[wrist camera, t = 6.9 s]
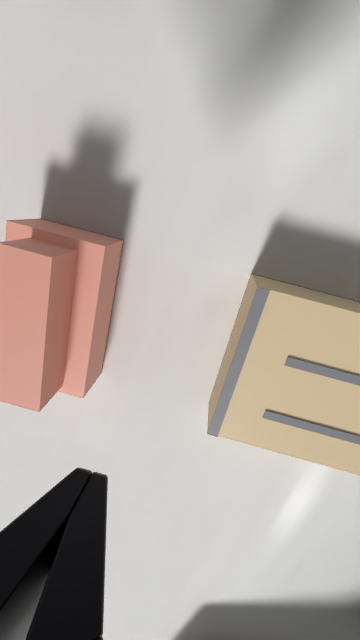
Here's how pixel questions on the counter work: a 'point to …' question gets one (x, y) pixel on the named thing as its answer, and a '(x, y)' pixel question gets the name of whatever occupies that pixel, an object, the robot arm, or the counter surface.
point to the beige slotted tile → (292, 375)
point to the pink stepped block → (53, 309)
